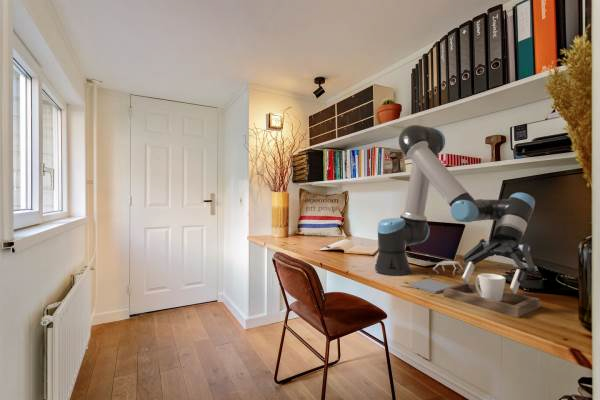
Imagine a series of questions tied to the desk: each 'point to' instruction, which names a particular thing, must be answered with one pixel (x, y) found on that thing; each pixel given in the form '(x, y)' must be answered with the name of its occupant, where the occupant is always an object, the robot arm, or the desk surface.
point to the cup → (491, 286)
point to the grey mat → (430, 285)
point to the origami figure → (448, 264)
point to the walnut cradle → (522, 308)
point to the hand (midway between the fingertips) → (487, 285)
